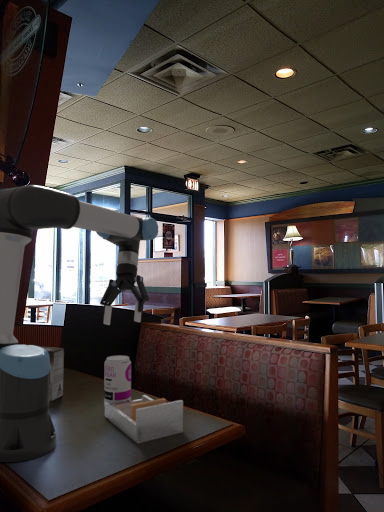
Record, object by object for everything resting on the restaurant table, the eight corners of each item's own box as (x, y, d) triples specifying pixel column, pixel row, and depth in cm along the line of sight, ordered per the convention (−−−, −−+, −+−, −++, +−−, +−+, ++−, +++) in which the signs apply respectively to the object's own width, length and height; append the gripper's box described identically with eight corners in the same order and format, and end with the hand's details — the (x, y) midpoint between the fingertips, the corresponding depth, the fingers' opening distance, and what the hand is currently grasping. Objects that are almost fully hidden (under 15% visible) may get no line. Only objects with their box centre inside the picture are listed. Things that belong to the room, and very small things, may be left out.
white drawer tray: (104, 416, 115) (104, 388, 116) (145, 407, 122) (145, 381, 123) (137, 443, 97) (137, 410, 97) (182, 431, 104) (183, 400, 104)
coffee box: (28, 398, 131) (29, 349, 132) (40, 393, 137) (41, 346, 138) (52, 401, 129) (53, 351, 130) (64, 395, 135) (64, 347, 136)
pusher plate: (130, 426, 104) (130, 404, 104) (163, 419, 110) (163, 398, 110) (132, 428, 103) (132, 405, 103) (165, 420, 109) (165, 399, 109)
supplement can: (133, 402, 128) (133, 355, 128) (126, 411, 119) (127, 361, 120) (108, 401, 128) (109, 354, 129) (100, 410, 120) (100, 360, 121)
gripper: (161, 264, 143) (157, 322, 136) (108, 273, 155) (101, 327, 148) (149, 257, 137) (144, 318, 130) (94, 267, 149) (87, 323, 142)
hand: (121, 323), depth 139 cm, fingers open, 13 cm apart
